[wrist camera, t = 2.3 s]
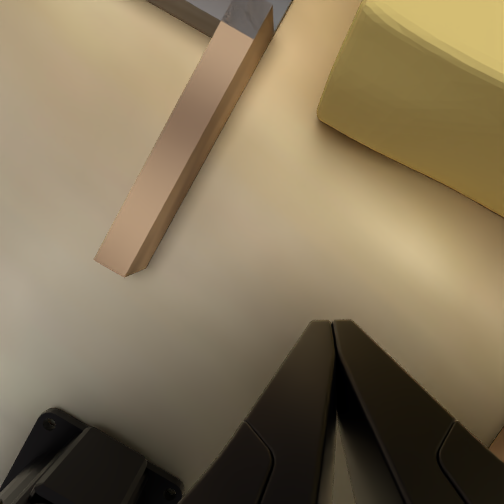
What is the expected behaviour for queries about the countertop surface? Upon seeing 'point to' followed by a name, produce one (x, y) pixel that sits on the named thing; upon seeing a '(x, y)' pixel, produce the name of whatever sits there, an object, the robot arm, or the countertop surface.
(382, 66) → the cheese
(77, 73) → the countertop surface
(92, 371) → the countertop surface
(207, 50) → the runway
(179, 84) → the countertop surface
